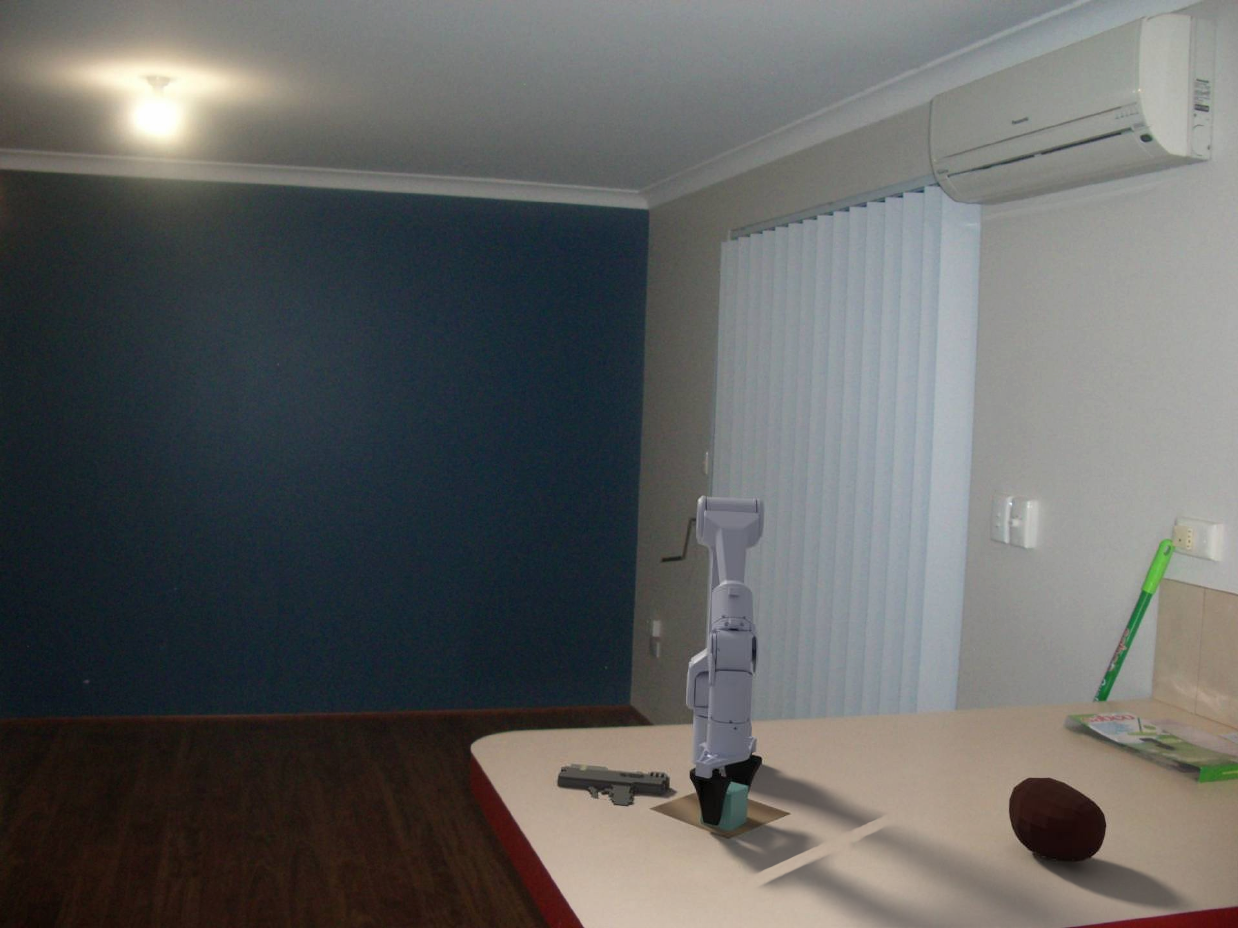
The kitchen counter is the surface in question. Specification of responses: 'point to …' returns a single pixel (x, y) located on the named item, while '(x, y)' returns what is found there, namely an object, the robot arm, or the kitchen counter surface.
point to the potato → (1056, 820)
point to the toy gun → (613, 782)
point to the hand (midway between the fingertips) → (723, 815)
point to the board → (691, 814)
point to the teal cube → (733, 807)
